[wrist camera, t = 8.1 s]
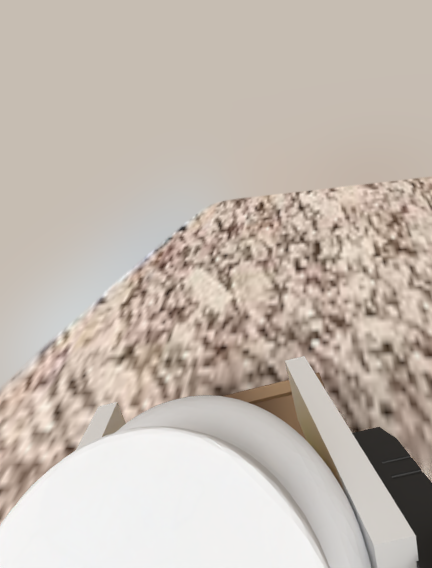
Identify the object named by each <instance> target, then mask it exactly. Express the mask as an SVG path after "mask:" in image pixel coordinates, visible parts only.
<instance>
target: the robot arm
mask: <svg viewBox="0 0 432 568" xmlns="http://www.w3.org/2000/svg"><path fill="white" fill-rule="evenodd" d="M285 364H286V369H287V373H288V378H289V382H290V387H291V391H292V396H293V400H294V405H295V410H296V414H297V419H298V421H299V424H300V426H301V429H302V431H303V434H304V436H305V438H306V441H307V442H308V443H309V444H310V445H311V446H312V447H313V448H314V450H315V451H316V452H317V453H318V454H319V456H320V457H321V458H322V459H323V461H324V462H325V463H326V465H327V466H328V467H329V469H330V470H331V472H332V473H333V475H334V476H335V478H336V480H337V481H338V483H339V484H340V486H341V488H342V489H343V491H344V493H345V495H346V496H347V499H348V501H349V503H350V505H351V507H352V509H353V511H354V514H355V516H356V519H357V522H358V524H359V527H360V530H361V533H362V536H363V539H364V542H365V545H366V548H367V552H368V556H369V559H370V563H371V568H432V483H431V481H430V480H429V479H428V478H427V476H426V475H425V474H424V473H422V471H421V469H420V467H419V466H418V465H417V464H416V462H415V461H414V460H413V459H412V458H411V457H410V455H409V454H408V452H407V451H406V450H405V449H404V447H403V446H402V445H401V444H400V442H399V441H398V440H397V439H396V438H395V437H393V436H392V435H390V434H389V433H387V432H386V431H384V430H383V429H381V428H380V427H377V428H373V429H368V430H364V431H360V432H356V433H352V432H351V431H350V429H349V427H348V426H347V424H346V423H345V421H344V419H343V418H342V416H341V414H340V413H339V411H338V410H337V408H336V406H335V405H334V403H333V402H332V400H331V398H330V397H329V395H328V394H327V392H326V390H325V389H324V387H323V385H322V384H321V382H320V381H319V379H318V377H317V376H316V374H315V373H314V371H313V369H312V368H311V366H310V365H309V363H308V361H307V360H306V358H305V357H304V356H303V357H298V358H294V359H290V360H286V361H285ZM125 424H126V423H125V421H124V418H123V416H122V413H121V411H120V408H119V405H118V403H117V402H115V403H111V404H107V405H103V406H99V407H98V408H97V410H96V412H95V414H94V416H93V418H92V420H91V422H90V424H89V426H88V428H87V430H86V432H85V434H84V436H83V438H82V440H81V442H80V443H79V445H78V447H77V449H79V448H81V447H83V446H85V445H86V444H88V443H90V442H92V441H94V440H96V439H99V438H101V437H104V436H106V435H109V434H113V433H115V432H116V431H117V430H119V429H120V428H121V427H122V426H123V425H125ZM77 449H76V450H77Z"/></svg>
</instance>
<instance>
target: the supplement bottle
mask: <svg viewBox="0 0 432 568" xmlns="http://www.w3.org/2000/svg"><path fill="white" fill-rule="evenodd" d="M0 568H371V563H370V559H369V556H368V552H367V548H366V545H365V542H364V539H363V536H362V533H361V530H360V527H359V524H358V522H357V519H356V516H355V514H354V511H353V509H352V507H351V505H350V503H349V501H348V499H347V496H346V495H345V493H344V491H343V489H342V488H341V486H340V484H339V483H338V481H337V480H336V478H335V476H334V475H333V473H332V472H331V470H330V469H329V467H328V466H327V465H326V463H325V462H324V461H323V459H322V458H321V457H320V456H319V454H318V453H317V452H316V451H315V450H314V448H313V447H312V446H311V445H310V444H309V443H308V442H307V441H306V440H305V439H304V438H303V437H302V436H301V435H300V434H299V433H298V432H297V431H296V430H294V429H293V428H292V427H291V426H289V425H288V424H287V423H286V422H284V421H283V420H281V419H280V418H278V417H277V416H275V415H274V414H272V413H270V412H268V411H266V410H264V409H262V408H260V407H258V406H256V405H253V404H250V403H248V402H245V401H242V400H238V399H234V398H229V397H223V396H211V395H203V396H189V397H185V398H180V399H175V400H172V401H168V402H165V403H162V404H160V405H157V406H155V407H153V408H151V409H149V410H147V411H145V412H143V413H141V414H139V415H138V416H136V417H134V418H133V419H132V420H130V421H129V422H127V423H126V424H125V425H123V426H122V427H121V428H120V429H119V430H117V431H116V432H115V433H113V434H109V435H106V436H104V437H101V438H99V439H96V440H94V441H92V442H90V443H88V444H86V445H85V446H83V447H81V448H79V449H77V450H76V451H74V452H73V453H71V454H70V455H68V456H67V457H65V458H64V459H63V460H61V461H60V462H59V463H57V464H56V465H55V466H53V467H52V468H51V469H49V470H48V471H47V472H46V473H45V474H44V475H43V476H42V477H41V478H40V479H39V480H37V481H36V482H35V483H34V484H33V485H32V486H31V487H30V488H29V489H28V491H27V492H26V493H25V494H24V495H23V496H22V497H21V499H20V500H19V501H18V503H17V504H16V505H15V506H14V507H13V508H12V509H11V511H10V512H9V513H8V515H7V516H6V517H5V519H4V520H3V521H2V523H1V524H0Z"/></svg>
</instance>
